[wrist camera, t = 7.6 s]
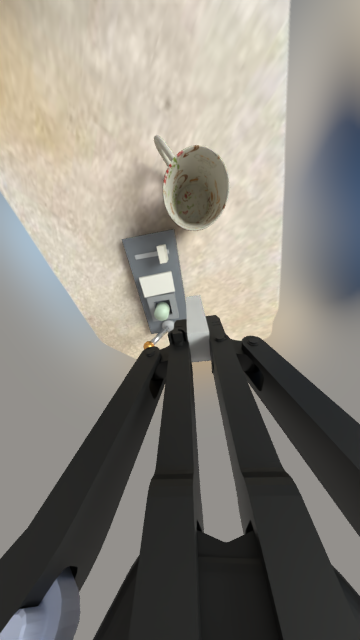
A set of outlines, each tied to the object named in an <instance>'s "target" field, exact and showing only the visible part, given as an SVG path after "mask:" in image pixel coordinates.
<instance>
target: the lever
mask: <svg viewBox="0 0 360 640" xmlns="http://www.w3.org/2000/svg"><path fill="white" fill-rule="evenodd" d="M168 330H169V327H168V326H165V327H164V328H163V329H162V330H161V331H160V332H159V333H158V334H157V335H156V336H155V337H154V338H153V339H152V340H151V341H147V342H146V343H145V344H144V350H145V349H146V348H148V347H152V346H154V345H155V344H156V343H157V342H158V341H159V340H160V339H161V338H162V337H163V336H164V335H165V334H166V333H167V332H168Z"/></svg>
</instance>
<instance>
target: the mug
mask: <svg viewBox="0 0 360 640" xmlns="http://www.w3.org/2000/svg"><path fill="white" fill-rule="evenodd" d="M154 142H155V145H156V148H157V150H158V152H159V153H160V155H161V157H162V158H163V160H164V161H165V163H166V165H167V166H168V168H167V171H166V173H165V177H164V181H163V200H164V204H165V207H166V210H167V212H168V214H169V216H170V217H171V219H172V220H173V221H174V222H175V223H176V224H177V225H178V226H180V227H181V228H183V229H186V230H190V231H198V230H202V229H205V228H207V227H209V226H210V225H212V224H213V223H214V222H215V221H216V220H217V219H218V218H219V217H220V215H221V214H222V212H223V210H224V208H225V206H226V203H227V199H228V195H229V177H228V172H227V169H226V166H225V164H224V162H223V160H222V159H221V157H220V156H219V155H218V154H217V153H216V152H215V151H213V150H212V149H210V148H208V147H205V146H200V145H195V146H190V147H187V148H185V149H183V150H182V151H181V152H179V153H178V154H177V155H176V156H175V155H174V154H173V152H172V151H171V149H170V148H169V146H168V145H167V144H166V142H165V141H164V140H163V139H162V138H161V137H160V136H158V135H156V136H155V137H154Z"/></svg>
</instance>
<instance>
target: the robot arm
mask: <svg viewBox="0 0 360 640" xmlns="http://www.w3.org/2000/svg"><path fill="white" fill-rule="evenodd" d="M186 315H187V319H182V320H176V322H175V323H174V329H173V330H171V331H170V332H169V333H168V338H169V342H170V345H169V346H168V347H166V348H163V349H160V350H159V348H158V347H155V346H152V347H148V348H146V349H145V350H143V352H142V353H141V354H140V356H139V357H138V359H137V361H136V362H135V364H134V365H133V367H132V368H131V370H130V371H129V373H128V374H127V376H126V377H125V379H124V381H123V382H122V384H121V385H120V387H119V388H118V390H117V391H116V393H115V394H114V396H113V398H112V399H111V401H110V402H109V404H108V405H107V407H106V408H105V410H104V411H103V413H102V414H101V416H100V417H99V419H98V421H97V422H96V424H95V425H94V427H93V428H92V430H91V431H90V433H89V434H88V436H87V438H86V439H85V441H84V442H83V444H82V445H81V447H80V448H79V450H78V451H77V453H76V454H75V456H74V458H73V459H72V461H71V462H70V464H69V465H68V467H67V468H66V470H65V472H64V473H63V474H62V476H61V478H60V479H59V481H58V482H57V484H56V485H55V487H54V488H53V490H52V491H51V493H50V495H49V496H48V498H47V499H46V501H45V502H44V504H43V505H42V507H41V508H40V510H39V511H38V513H37V514H36V516H35V518H34V519H33V521H32V522H31V524H30V525H29V527H28V528H27V529H26V530H25V531H24V533H23V534H22V535H21V536H20V537H19V538H18V539H17V541H16V542H15V543H14V544H13V545H12V546H11V547H10V549H9V550H8V551H7V552H6V553H5V554H4V555H3V557H2V558H1V559H0V640H73V637H74V635H75V633H76V630H77V626H78V623H79V617H80V596H79V591H80V589H81V587H82V586H83V584H84V582H85V580H86V579H87V577H88V575H89V573H90V571H91V569H92V567H93V565H94V563H95V561H96V558H97V556H98V554H99V552H100V550H101V548H102V545H103V543H104V541H105V538H106V536H107V533H108V531H109V529H110V526H111V523H112V521H113V518H114V515H115V513H116V510H117V508H118V505H119V502H120V500H121V497H122V495H123V492H124V489H125V486H126V484H127V481H128V479H129V476H130V474H131V471H132V468H133V466H134V463H135V461H136V458H137V455H138V453H139V450H140V448H141V445H142V442H143V440H144V437H145V435H146V432H147V429H148V427H149V424H150V422H151V419H152V416H153V414H154V411H155V408H156V406H157V403H158V400H159V398H160V396H161V393H162V390H163V388H164V385H165V392H164V401H163V410H162V419H161V427H160V436H159V445H158V454H157V463H156V470H155V474H154V476H153V478H152V479H151V482H150V485H149V490H148V497H147V503H146V511H145V519H144V526H143V533H142V541H141V549H140V555H139V556H138V558H137V559H136V561H135V562H134V564H133V565H132V567H131V569H130V571H129V573H128V574H127V576H126V578H125V580H124V582H123V584H122V585H121V587H120V589H119V591H118V593H117V595H116V597H115V599H114V601H113V603H112V605H111V607H110V608H109V610H108V612H107V614H106V616H105V618H104V620H103V622H102V623H101V626H100V627H99V629H98V631H97V633H96V635H95V637H94V639H93V640H360V596H359V595H358V593H357V592H356V591H355V590H354V589H353V588H352V586H351V585H350V584H349V583H348V582H347V581H346V579H345V578H344V577H343V576H342V575H341V574H340V573H339V572H338V571H337V570H336V569H335V568H334V567H333V566H332V565H331V563H330V561H329V558H328V556H327V554H326V552H325V549H324V547H323V545H322V542H321V540H320V538H319V535H318V533H317V531H316V528H315V526H314V524H313V522H312V519H311V517H310V515H309V512H308V510H307V508H306V506H305V503H304V501H303V499H302V496H301V494H300V493H299V490H298V488H297V486H296V484H295V483H294V481H293V479H292V478H291V477H290V476H289V475H288V474H287V473H286V472H285V470H284V469H283V467H282V465H281V463H280V460H279V458H278V455H277V453H276V450H275V448H274V446H273V443H272V441H271V438H270V436H269V433H268V431H267V428H266V426H265V424H264V421H263V419H262V416H261V414H260V411H259V409H258V406H257V404H256V402H255V399H254V397H253V394H252V392H251V390H250V387H249V385H248V383H249V384H250V386H251V387H252V388H253V390H254V391H255V392H256V394H257V395H258V396H259V398H260V399H261V401H262V402H263V403H264V405H265V406H266V408H267V409H268V410H269V412H270V413H271V415H272V416H273V417H274V419H275V420H276V421H277V423H278V424H279V426H280V427H281V428H282V430H283V431H284V433H285V434H286V435H287V437H288V438H289V440H290V441H291V442H292V444H293V445H294V446H295V448H296V449H297V451H298V452H299V453H300V455H301V456H302V458H303V459H304V460H305V462H306V463H307V465H308V466H309V467H310V468H311V470H312V471H313V473H314V474H315V476H316V477H317V478H318V480H319V481H320V483H321V484H322V485H323V487H324V488H325V489H326V491H327V492H328V494H329V495H330V496H331V498H332V499H333V501H334V502H335V503H336V505H337V506H338V507H339V509H340V510H341V512H342V513H343V514H344V516H345V517H346V519H347V520H348V521H349V523H350V524H351V525H352V527H353V528H354V530H355V531H356V532H357V534H358V535H359V536H360V424H359V423H358V422H356V421H355V420H354V419H353V418H352V417H351V416H349V415H348V414H347V413H346V412H345V411H344V410H343V409H341V408H340V407H339V406H338V405H337V404H336V403H335V402H333V401H332V400H331V399H330V398H329V397H328V396H327V395H325V394H324V393H323V392H322V391H321V390H320V389H318V388H317V387H316V386H315V385H314V384H313V383H311V382H310V381H309V380H308V379H307V378H306V377H304V376H303V375H302V374H301V373H300V372H299V371H298V370H297V369H295V368H294V367H293V366H292V365H291V364H290V363H289V362H287V361H286V360H285V359H284V358H283V357H282V356H281V355H279V354H278V353H277V352H276V351H275V350H274V349H272V348H271V347H270V346H269V345H268V344H267V343H266V342H264V341H263V340H262V339H261V338H259V337H256V336H246V337H244V338H243V339H242V341H237V340H232V339H230V338H229V337H228V335H226V334H225V332H224V329H223V326H222V324H221V322H220V319H219V317H217V316H216V315H213V316H205V313H204V308H203V304H202V300H201V296H200V295H196V296H189V297H186ZM209 360H211V362H212V373H213V375H214V380H215V385H216V389H217V394H218V400H219V405H220V410H221V415H222V420H223V425H224V430H225V435H226V440H227V445H228V450H229V455H230V461H231V465H232V470H233V476H234V480H235V486H236V491H237V497H238V505H239V512H240V517H241V522H242V528H243V533H244V535H243V536H241V537H239V538H236V539H234V540H232V541H230V542H222V541H220V540H218V539H216V538H214V537H211V536H209V535H207V534H205V533H204V528H203V514H202V503H201V494H200V480H199V466H198V465H199V464H198V449H197V433H196V418H195V402H194V387H193V371H192V362H199V361H209ZM247 381H248V382H247Z"/></svg>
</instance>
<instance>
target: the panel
mask: <svg viewBox="0 0 360 640" xmlns="http://www.w3.org/2000/svg"><path fill="white" fill-rule="evenodd" d="M122 242H123V245H124V248H125V251H126V254H127V258H128V261H129V264H130V267H131V270H132V274H133V277H134V280H135V283H136V286H137V289H138V293H139V296H140V299H141V302H142V305H143V309H144V312H145V315H146V318H147V321H148V324H149V328H150V331H151V334H154V333H159V332H160V331H161V330H162V329H163V328H164V327H165V326H168V327H169V330H168V332H170V331H171V330H173V329H174V323H175V322H176V320H182V319H187V315H186V300H185V294H184V288H183V281H182V275H181V269H180V263H179V256H178V250H177V244H176V238H175V232H174V229H172V230H167V231H162V232H157V233H152V234H147V235H142V236H137V237H132V238H127V239H122ZM163 244H166V249H167V254H168V259H169V260H168V261H167V263H162V264H160V261H159V256H158V252H157V246H159V245H163ZM168 271H171V272H172V278H173V283H174V288H175V291H174V292H169V293H164V294H159V295H155V296H150V297H144V294H143V290H142V287H141V283H140V280H139V277H144V276H148V275H153V274H158V273H163V272H168ZM160 302H165V303H167V304H168V305H169V307H170V311H169V316H168V318H167V319H166V320H164V321H159V320H157V319H156V318H155V316H154V312H155V309H156V306H157V304H158V303H160Z"/></svg>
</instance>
